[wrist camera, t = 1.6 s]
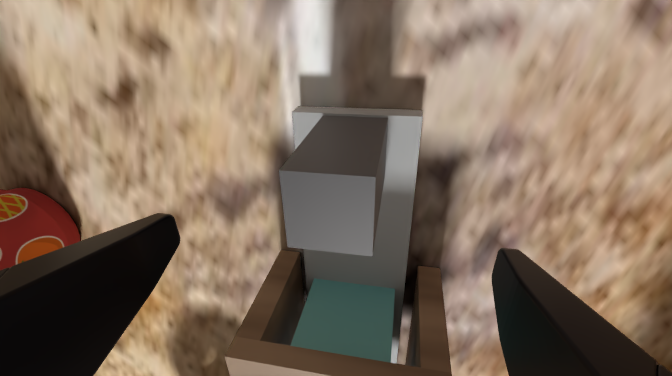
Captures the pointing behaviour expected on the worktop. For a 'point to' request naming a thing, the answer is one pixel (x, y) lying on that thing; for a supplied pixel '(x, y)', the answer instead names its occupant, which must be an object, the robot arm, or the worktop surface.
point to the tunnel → (324, 367)
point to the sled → (352, 224)
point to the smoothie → (32, 226)
